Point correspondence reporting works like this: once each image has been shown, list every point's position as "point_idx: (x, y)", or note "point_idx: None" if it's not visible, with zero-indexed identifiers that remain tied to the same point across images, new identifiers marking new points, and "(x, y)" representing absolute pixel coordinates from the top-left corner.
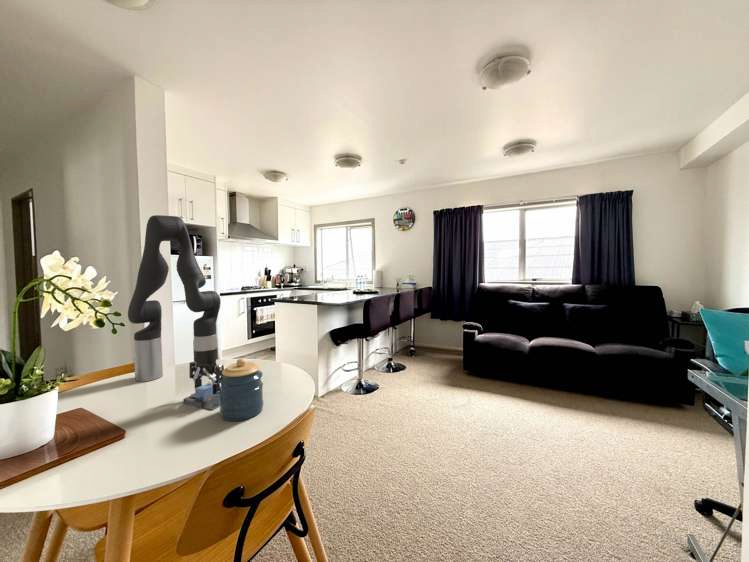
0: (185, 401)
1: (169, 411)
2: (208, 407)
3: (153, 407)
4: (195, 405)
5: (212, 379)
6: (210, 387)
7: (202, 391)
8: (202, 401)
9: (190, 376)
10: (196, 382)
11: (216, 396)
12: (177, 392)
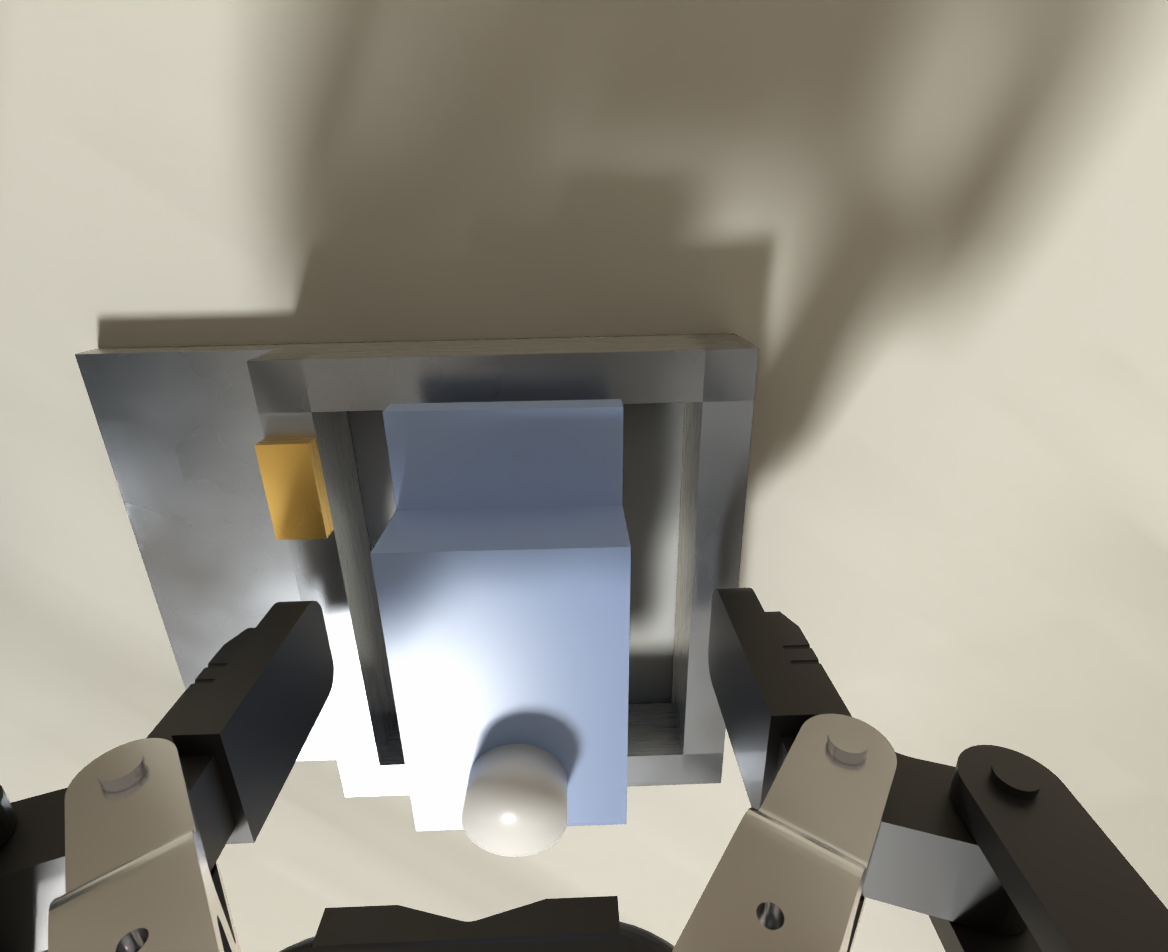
0: (699, 341)
1: (717, 29)
2: (169, 354)
3: (1146, 29)
4: (467, 343)
5: (117, 851)
6: (398, 692)
7: (407, 534)
8: (327, 397)
9: (1021, 791)
10: (760, 700)
11: None
12: (1158, 561)
